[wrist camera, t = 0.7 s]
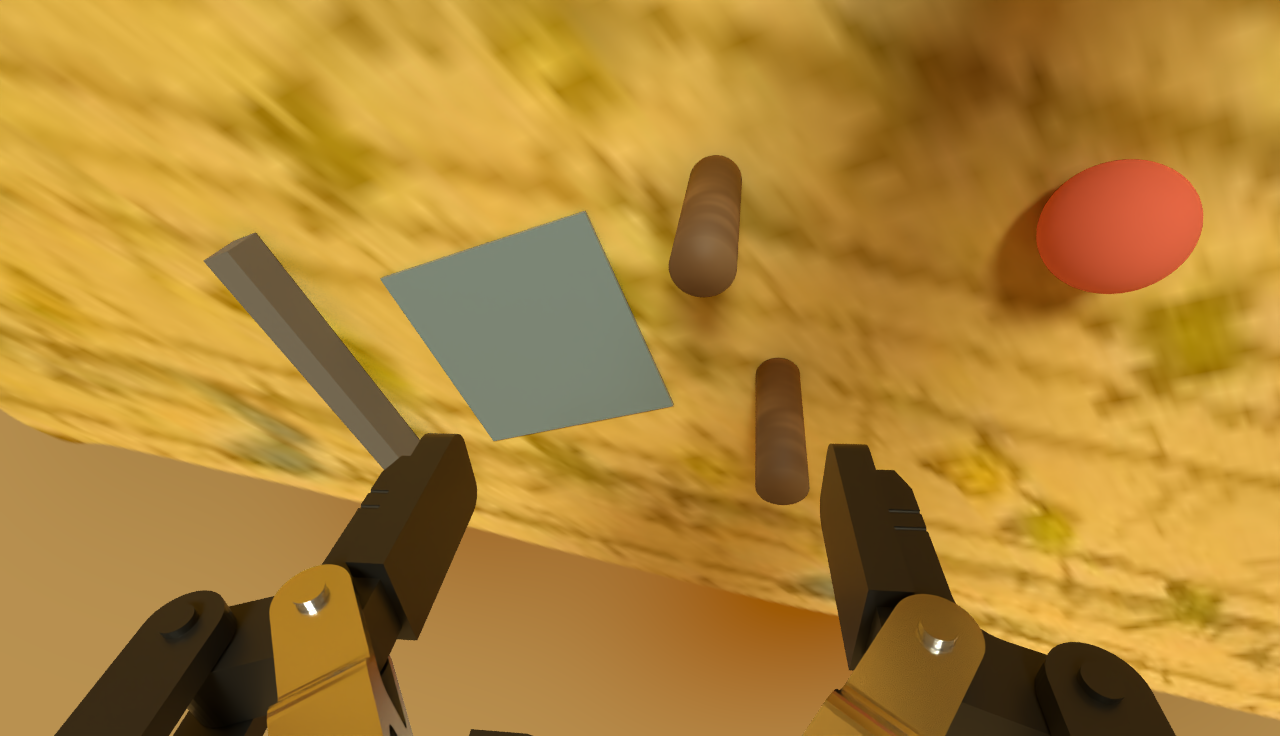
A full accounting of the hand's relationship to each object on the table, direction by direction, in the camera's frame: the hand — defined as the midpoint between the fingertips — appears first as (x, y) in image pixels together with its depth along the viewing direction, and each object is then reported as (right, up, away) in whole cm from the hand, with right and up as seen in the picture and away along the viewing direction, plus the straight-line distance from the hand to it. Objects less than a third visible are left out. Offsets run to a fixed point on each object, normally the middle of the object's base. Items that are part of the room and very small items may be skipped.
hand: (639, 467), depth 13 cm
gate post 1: (+4, +12, +17) cm, 21 cm away
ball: (+20, +8, +13) cm, 25 cm away
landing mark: (-7, +4, +25) cm, 26 cm away
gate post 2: (+8, +2, +24) cm, 25 cm away
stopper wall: (-20, +1, +30) cm, 36 cm away
